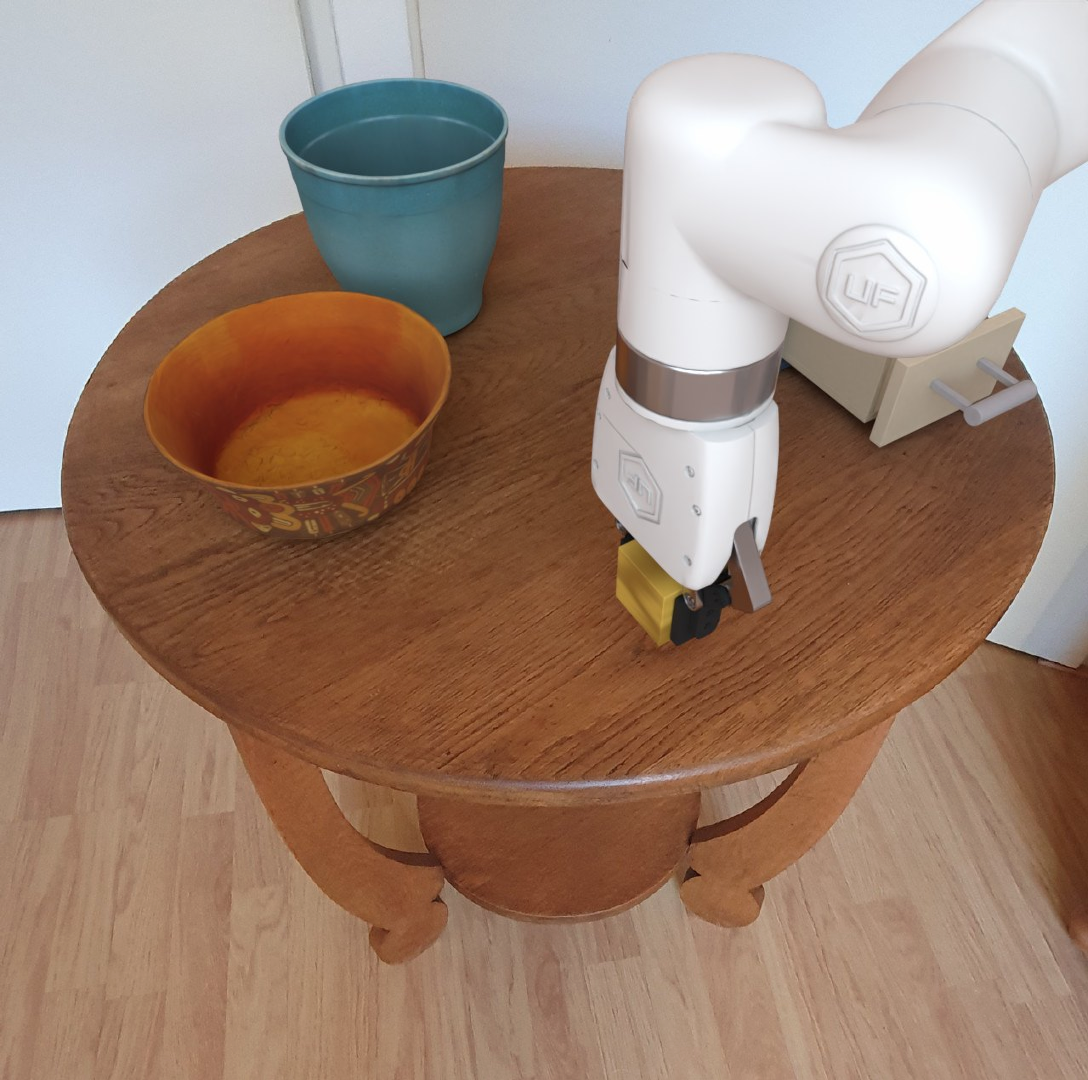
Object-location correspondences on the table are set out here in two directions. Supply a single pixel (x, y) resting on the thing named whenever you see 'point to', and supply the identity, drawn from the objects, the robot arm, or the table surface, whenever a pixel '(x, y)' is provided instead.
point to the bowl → (302, 409)
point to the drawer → (915, 377)
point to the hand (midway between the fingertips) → (667, 601)
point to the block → (646, 590)
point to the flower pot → (403, 189)
